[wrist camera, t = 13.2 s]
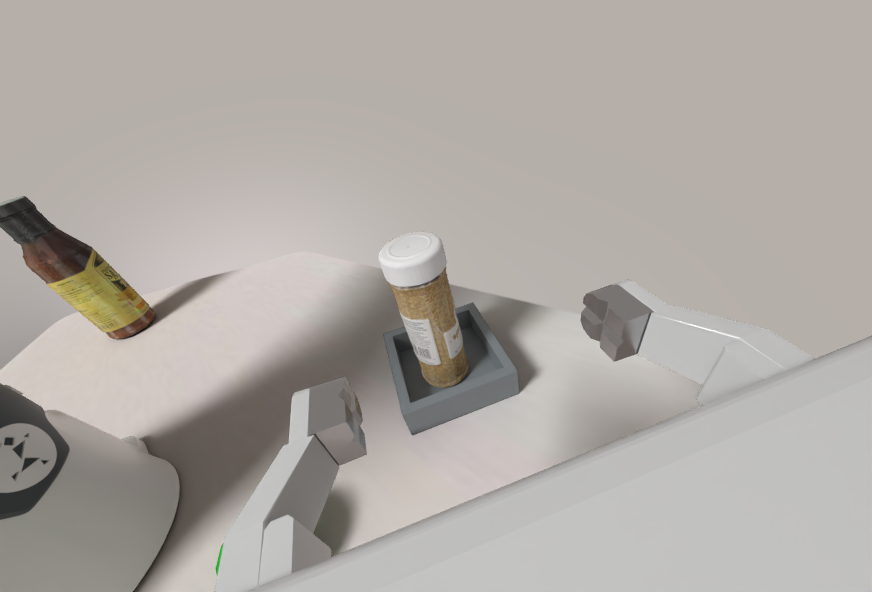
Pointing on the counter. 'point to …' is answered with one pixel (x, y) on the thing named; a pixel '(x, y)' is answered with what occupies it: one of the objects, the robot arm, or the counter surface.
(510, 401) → the counter surface
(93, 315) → the sauce bottle
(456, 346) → the sprinkles bottle
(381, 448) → the counter surface
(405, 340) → the bin
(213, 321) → the counter surface
